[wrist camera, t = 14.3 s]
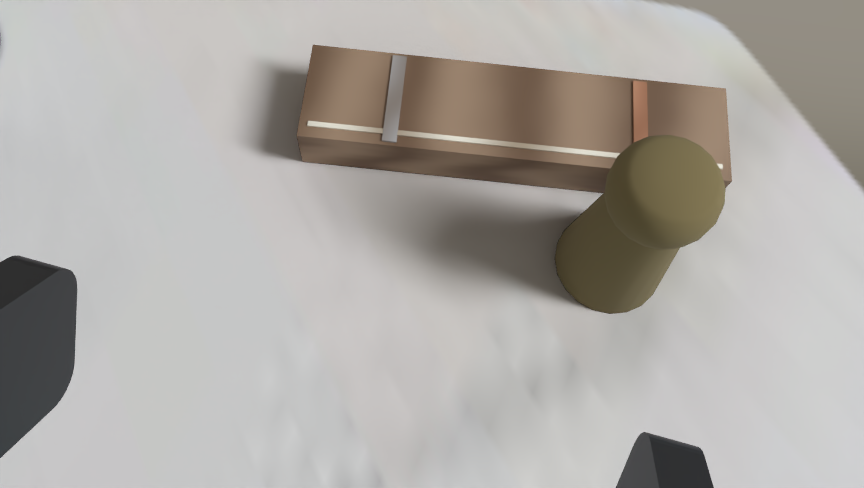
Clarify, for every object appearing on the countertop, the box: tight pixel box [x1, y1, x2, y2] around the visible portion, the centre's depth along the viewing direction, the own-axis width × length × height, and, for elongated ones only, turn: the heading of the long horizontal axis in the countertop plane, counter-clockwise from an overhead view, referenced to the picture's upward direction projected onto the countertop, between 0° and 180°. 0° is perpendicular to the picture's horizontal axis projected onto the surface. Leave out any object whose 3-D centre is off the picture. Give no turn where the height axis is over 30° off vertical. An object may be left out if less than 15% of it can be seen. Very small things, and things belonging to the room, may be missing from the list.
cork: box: [555, 135, 725, 314], centre depth 37 cm, size 6×6×11 cm
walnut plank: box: [297, 45, 732, 193], centre depth 43 cm, size 24×6×3 cm, turn 85°
